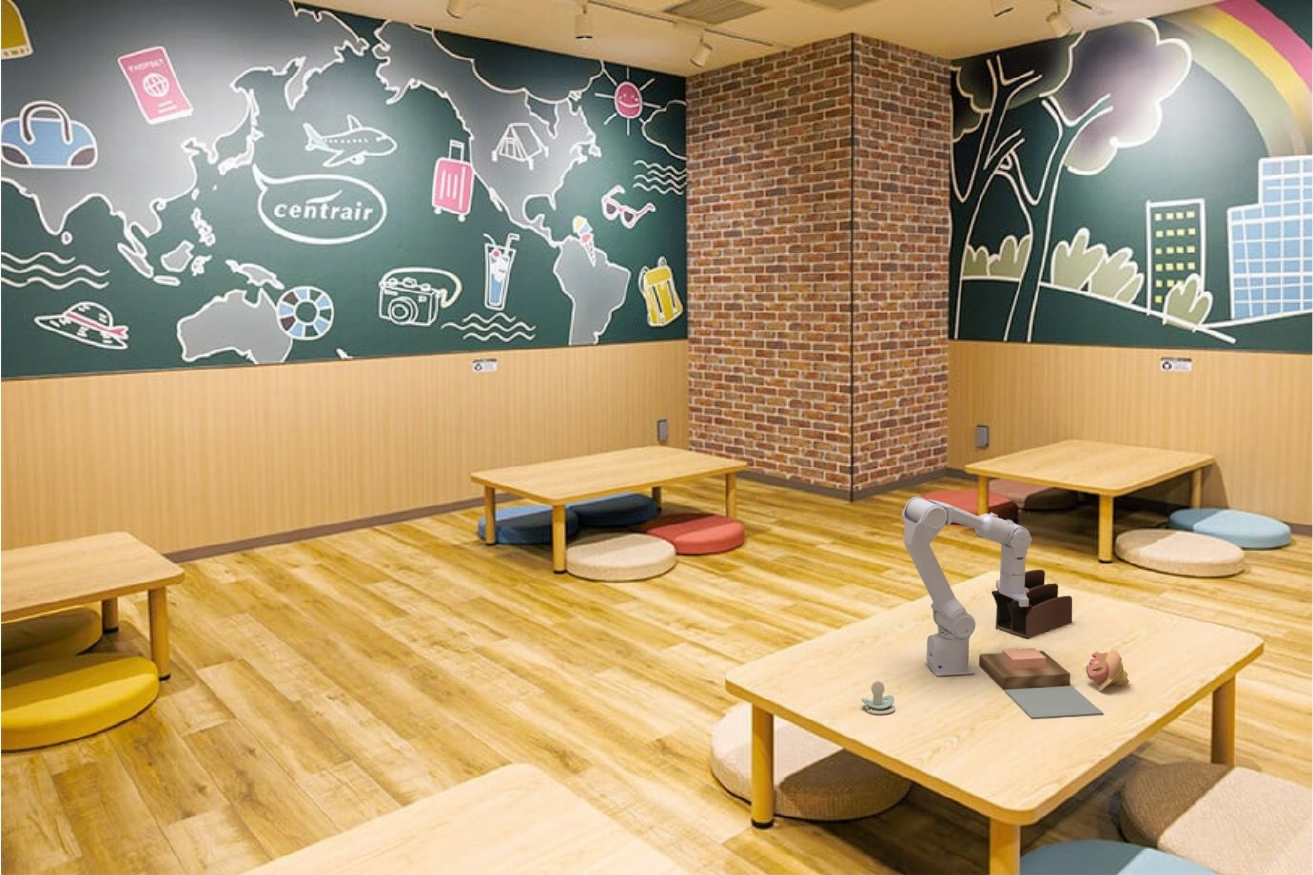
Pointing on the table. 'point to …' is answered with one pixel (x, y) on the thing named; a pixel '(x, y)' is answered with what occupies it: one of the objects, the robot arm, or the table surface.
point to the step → (1024, 673)
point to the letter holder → (1040, 608)
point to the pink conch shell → (1107, 669)
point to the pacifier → (879, 700)
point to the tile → (1023, 658)
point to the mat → (1053, 702)
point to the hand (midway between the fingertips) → (1010, 625)
